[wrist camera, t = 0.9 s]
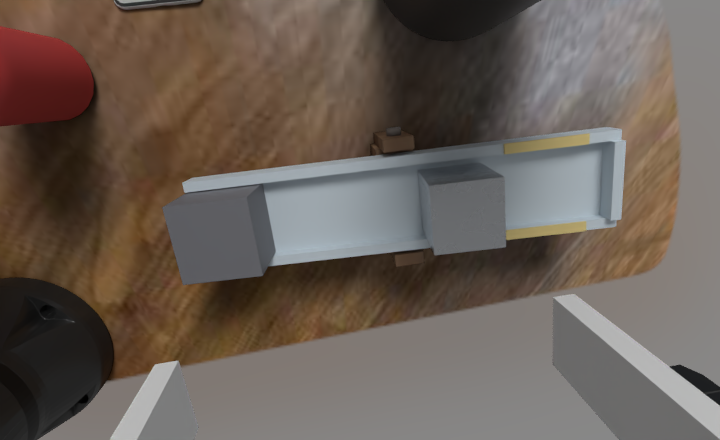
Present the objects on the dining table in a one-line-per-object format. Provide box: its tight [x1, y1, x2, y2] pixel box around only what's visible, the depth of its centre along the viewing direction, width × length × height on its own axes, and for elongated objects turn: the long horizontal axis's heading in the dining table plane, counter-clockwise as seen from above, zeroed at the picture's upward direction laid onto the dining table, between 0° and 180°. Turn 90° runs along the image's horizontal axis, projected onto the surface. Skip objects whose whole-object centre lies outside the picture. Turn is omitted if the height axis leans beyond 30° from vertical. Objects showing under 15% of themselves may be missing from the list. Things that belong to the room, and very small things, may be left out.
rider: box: [417, 162, 506, 255], centre depth 31 cm, size 5×5×6 cm
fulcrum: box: [370, 127, 424, 267], centre depth 37 cm, size 3×12×6 cm, turn 7°
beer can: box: [0, 26, 94, 126], centre depth 29 cm, size 7×7×12 cm
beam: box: [162, 127, 626, 285], centre depth 32 cm, size 34×8×6 cm, turn 97°
